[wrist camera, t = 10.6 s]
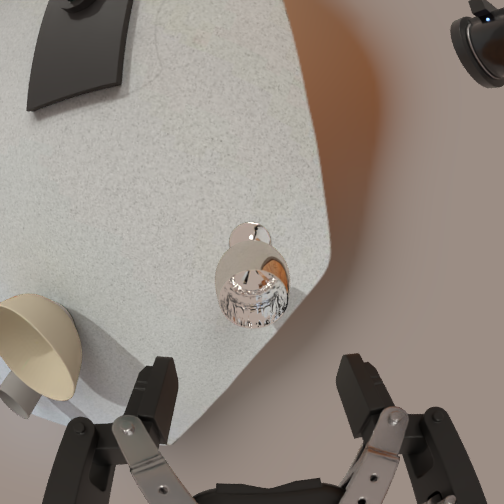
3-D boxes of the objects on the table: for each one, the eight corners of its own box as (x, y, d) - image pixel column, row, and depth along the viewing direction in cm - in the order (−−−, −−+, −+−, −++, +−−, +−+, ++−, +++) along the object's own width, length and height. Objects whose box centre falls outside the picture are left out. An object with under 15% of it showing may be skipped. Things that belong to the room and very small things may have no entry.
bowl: (43, 349, 35) (17, 385, 26) (13, 268, 29) (-26, 298, 20) (114, 364, 36) (91, 411, 26) (85, 272, 30) (43, 314, 21)
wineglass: (261, 274, 31) (271, 344, 19) (214, 254, 30) (198, 316, 18) (286, 230, 29) (312, 282, 18) (237, 206, 28) (232, 246, 17)
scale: (54, 0, 15) (43, -6, 12) (141, -32, 16) (134, -43, 13) (32, 111, 22) (18, 110, 19) (121, 84, 22) (109, 79, 20)
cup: (29, 357, 36) (6, 389, 27) (53, 387, 39) (34, 420, 30) (13, 361, 37) (-8, 389, 28) (35, 388, 40) (18, 417, 31)
